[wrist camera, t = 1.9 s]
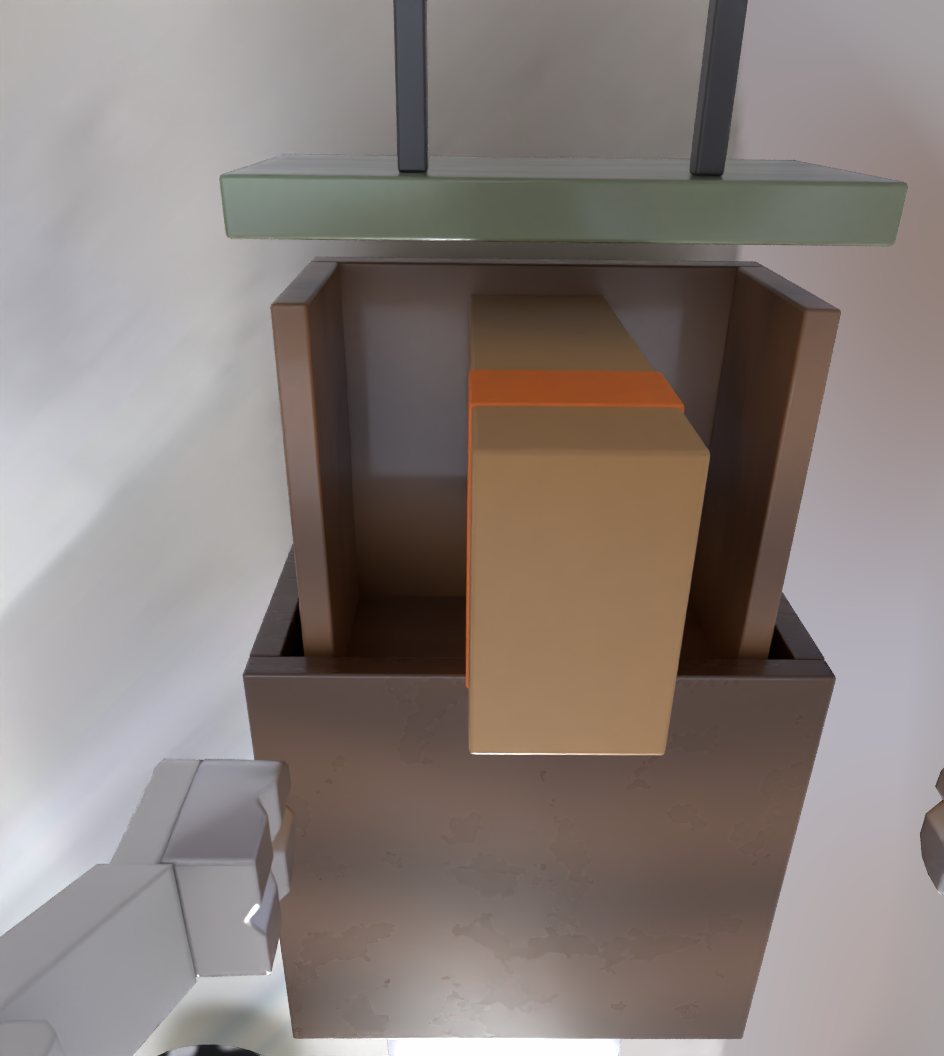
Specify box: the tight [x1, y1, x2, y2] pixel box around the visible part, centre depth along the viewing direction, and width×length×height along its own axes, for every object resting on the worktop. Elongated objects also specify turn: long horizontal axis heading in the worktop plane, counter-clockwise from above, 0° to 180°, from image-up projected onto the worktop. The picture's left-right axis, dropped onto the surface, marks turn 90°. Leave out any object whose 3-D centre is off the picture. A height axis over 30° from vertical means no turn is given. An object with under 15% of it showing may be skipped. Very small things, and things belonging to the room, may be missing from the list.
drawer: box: [219, 0, 908, 659], centre depth 21 cm, size 19×13×6 cm
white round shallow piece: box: [387, 1039, 622, 1056], centre depth 37 cm, size 10×10×4 cm
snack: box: [466, 295, 710, 755], centre depth 19 cm, size 6×4×11 cm, turn 179°
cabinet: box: [243, 544, 836, 1039], centre depth 27 cm, size 15×15×8 cm
